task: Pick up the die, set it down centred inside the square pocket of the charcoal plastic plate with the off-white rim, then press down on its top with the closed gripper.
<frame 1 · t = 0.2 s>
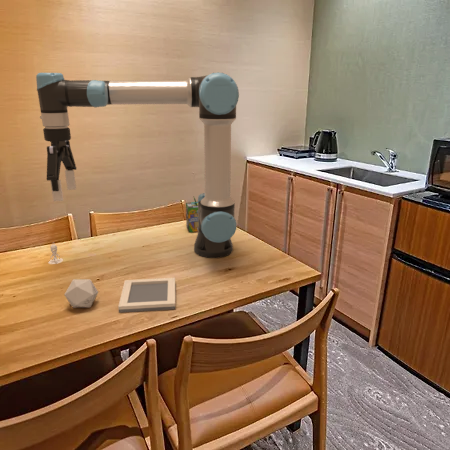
hand: (65, 194, 125), 28 cm above the table, tool pointing down, fingers open, 13 cm apart
toy figurine: (56, 263, 142), on the table
die: (83, 305, 115), on the table
chalk box: (197, 229, 176), on the table
pocket plate: (149, 296, 120), on the table
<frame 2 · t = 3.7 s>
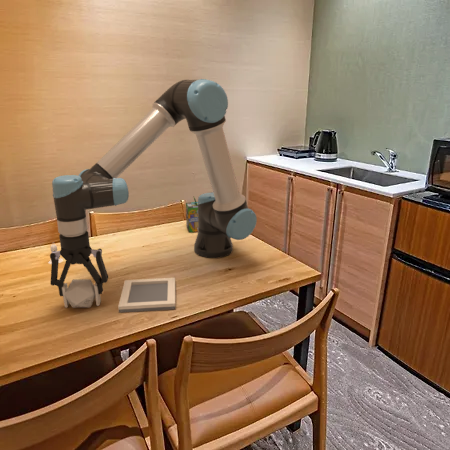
hand: (83, 304, 115), 0 cm above the table, tool pointing down, fingers closed on die, 8 cm apart
die: (83, 305, 115), on the table, touching gripper
everything else where it was.
when the fingers open (4 cm above the table, at t = 9.1 s): die drops 2 cm, resting on pocket plate.
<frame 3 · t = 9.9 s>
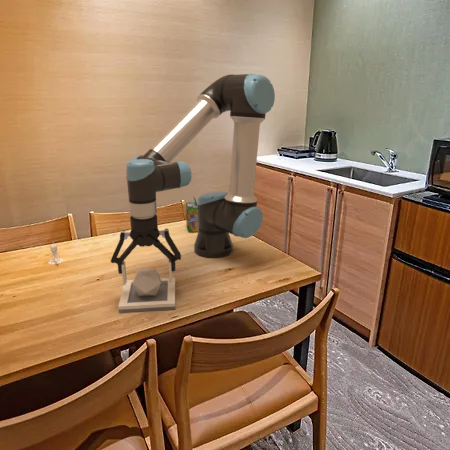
hand: (148, 281, 118), 5 cm above the table, tool pointing down, fingers open, 13 cm apart
die: (148, 294, 120), point 1 cm above the table, touching pocket plate
everything else where it was.
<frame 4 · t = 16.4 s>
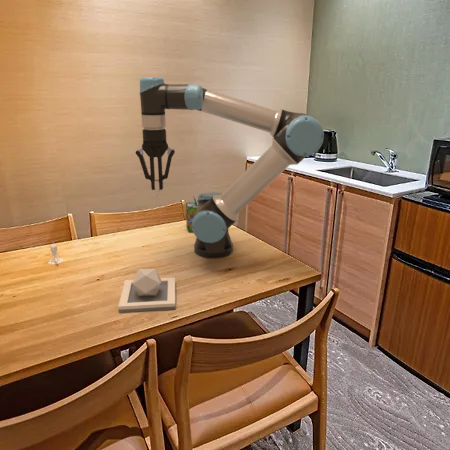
hand: (157, 198, 134), 24 cm above the table, tool pointing down, fingers closed
nothing on the table moved.
at the end: die 0.3 cm off-centre on the pocket plate, point 0.8 cm above the pocket plate's base; die tilted 2°; the gripper is holding nothing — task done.
